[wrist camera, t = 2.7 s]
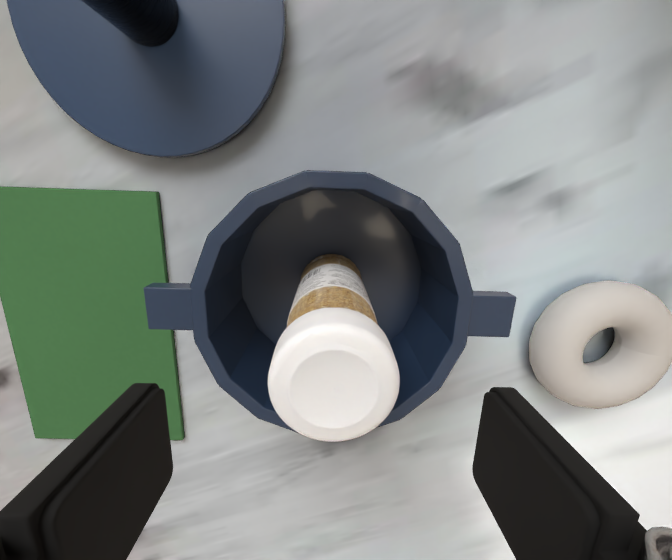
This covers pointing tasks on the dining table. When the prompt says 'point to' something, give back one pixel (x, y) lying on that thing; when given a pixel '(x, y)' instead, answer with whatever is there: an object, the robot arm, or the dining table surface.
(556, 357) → the donut
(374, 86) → the dining table surface
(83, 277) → the green flat rectangular board
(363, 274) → the pot
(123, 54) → the lid
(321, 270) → the sprinkles bottle
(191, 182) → the dining table surface
